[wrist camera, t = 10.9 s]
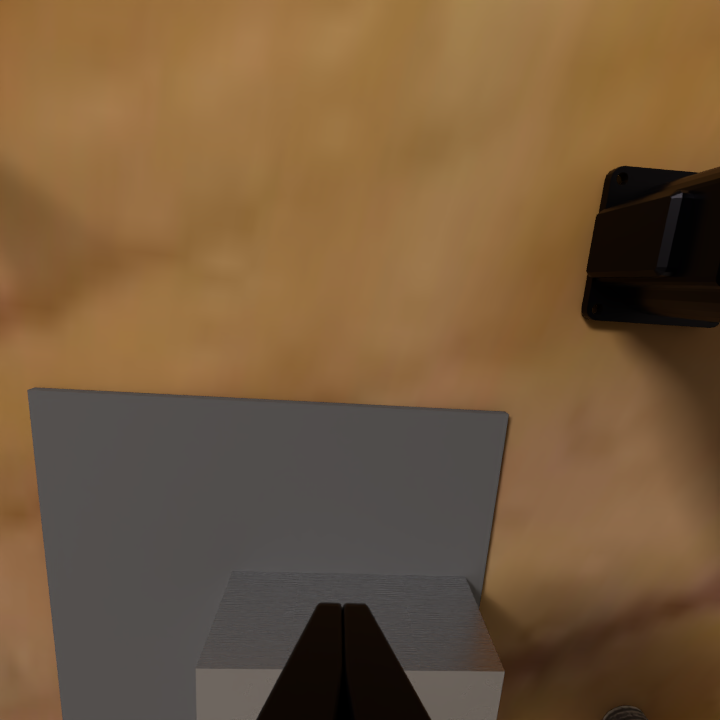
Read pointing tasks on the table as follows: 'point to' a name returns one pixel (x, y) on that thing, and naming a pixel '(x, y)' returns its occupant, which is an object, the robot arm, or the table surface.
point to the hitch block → (394, 616)
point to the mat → (234, 519)
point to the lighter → (625, 714)
